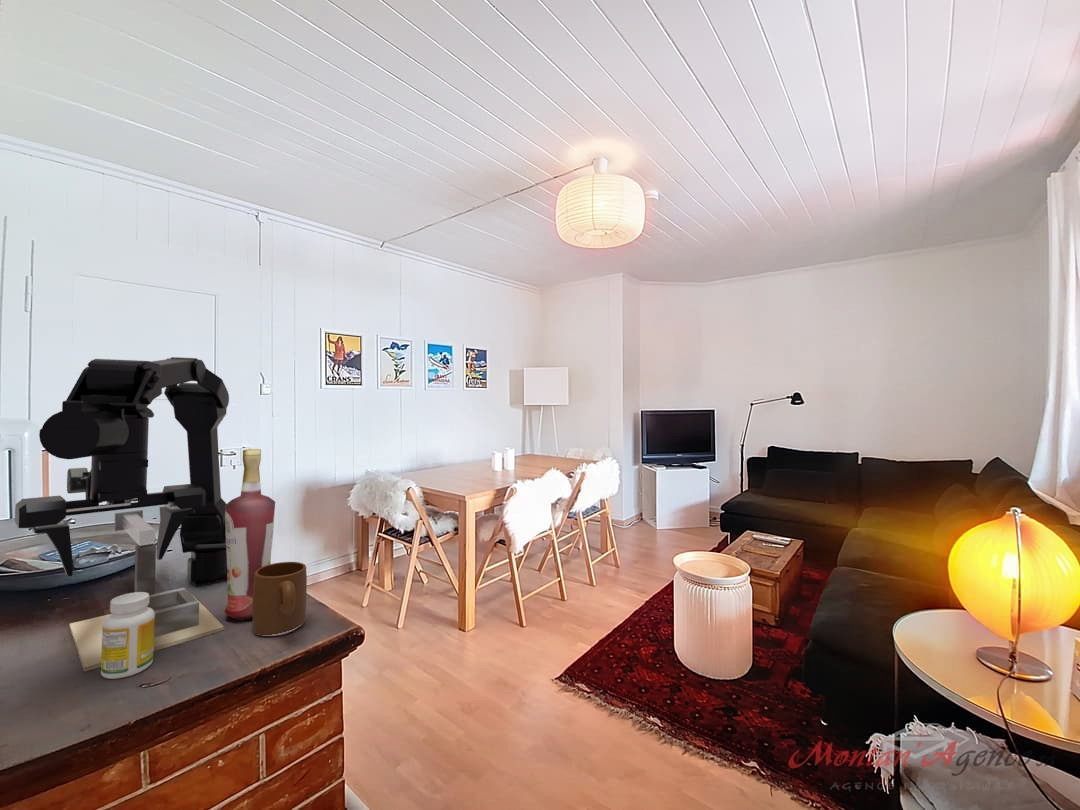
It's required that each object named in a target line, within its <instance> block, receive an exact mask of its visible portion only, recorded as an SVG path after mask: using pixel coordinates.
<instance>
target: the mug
mask: <svg viewBox="0 0 1080 810" xmlns="http://www.w3.org/2000/svg"><path fill="white" fill-rule="evenodd" d="M307 578H308V574H307V566H306V563H304V562H299V561H281V562H275V563H270V565H266V566H263V567H261V568H259V569H257V570H256V571H255V574H254V583H253V618H252V630H253V632H254V633H255V634H256V635H257V634H259V635H258V636H260V635H272V634H278V633H282V632H286V631H289V630H292V629H294V628H296V627H298V626H299V625H301V624H302V623H303V622H304V621H306V618H307V617H306V616H307V615H306V613H307V609H306V608H307V592H308V591H307V587H308V586H307V585H308V579H307ZM304 623H305V622H304Z"/></svg>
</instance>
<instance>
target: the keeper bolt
mask: <svg viewBox="0 0 1080 810" xmlns="http://www.w3.org/2000/svg"><path fill="white" fill-rule="evenodd" d="M143 517H144V510H143V509H138V510H130V511H122V512H121V511H120V512H115V513H114V531H115V532H117V531H123V530H124V531H125V532H126V534H127V535H128V536H129V537H131V539H132V540H133V541H134V542H135V543H136V544H137V545H139V546H142V545H149V544H155V540H156V539H155V538H156V536H155V535H156V529H155V528H154V527H153V526H152V525H150V523H148V522H147V521H146V520H144V518H143ZM155 545H156V544H155Z"/></svg>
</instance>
